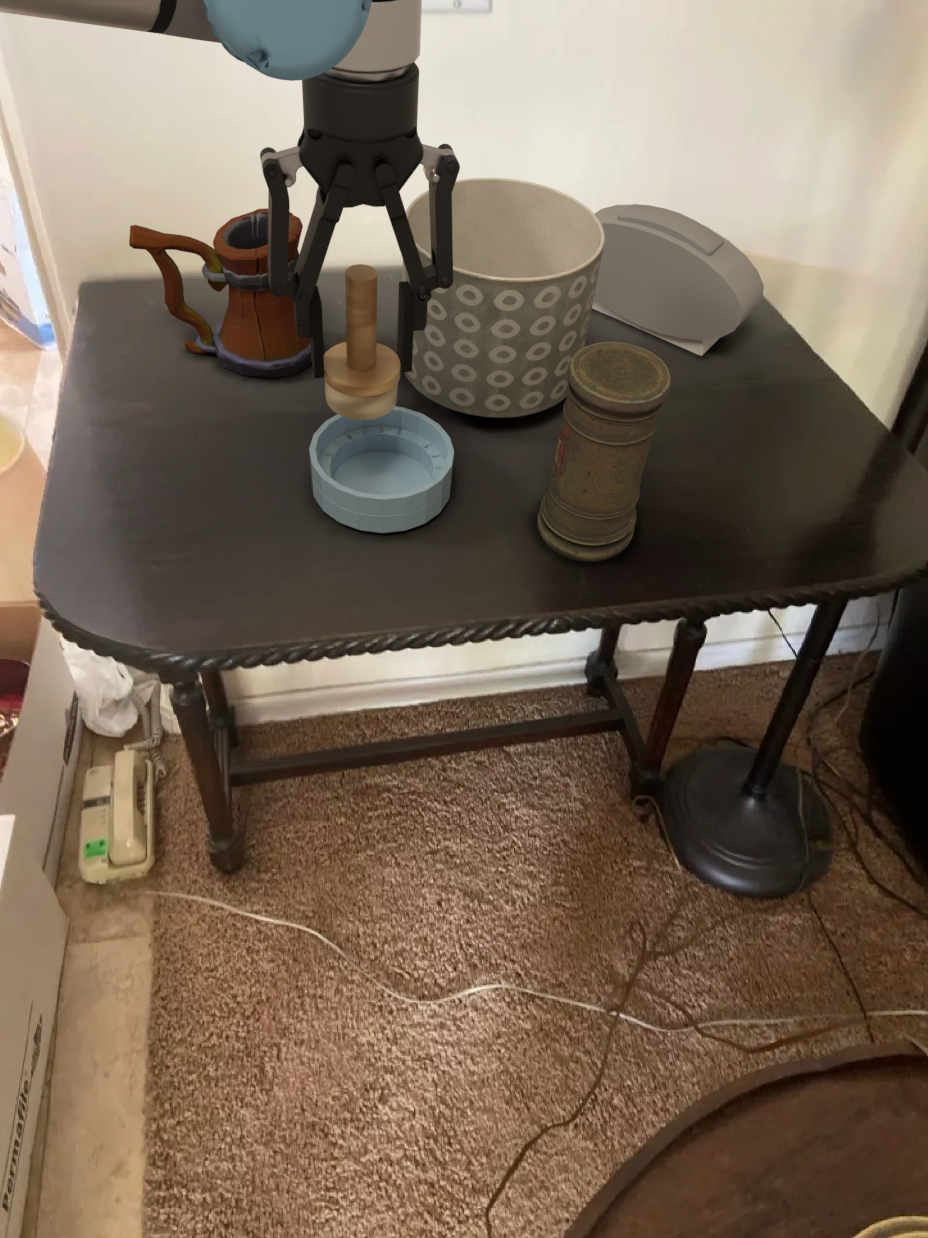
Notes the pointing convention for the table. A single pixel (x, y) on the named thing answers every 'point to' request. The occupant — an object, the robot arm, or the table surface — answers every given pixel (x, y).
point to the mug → (236, 296)
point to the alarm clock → (673, 277)
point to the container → (602, 450)
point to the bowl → (382, 470)
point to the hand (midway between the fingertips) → (361, 364)
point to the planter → (506, 297)
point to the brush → (361, 355)
